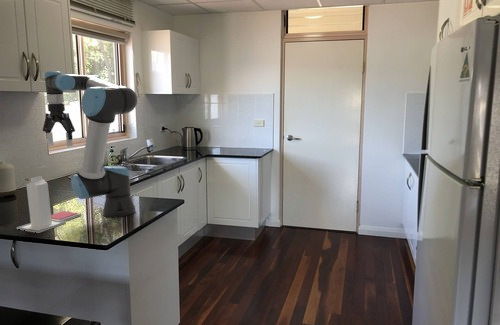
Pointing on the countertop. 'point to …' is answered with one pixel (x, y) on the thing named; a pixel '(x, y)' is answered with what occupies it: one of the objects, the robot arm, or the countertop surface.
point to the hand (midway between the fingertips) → (60, 145)
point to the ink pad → (64, 216)
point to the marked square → (38, 229)
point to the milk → (39, 202)
